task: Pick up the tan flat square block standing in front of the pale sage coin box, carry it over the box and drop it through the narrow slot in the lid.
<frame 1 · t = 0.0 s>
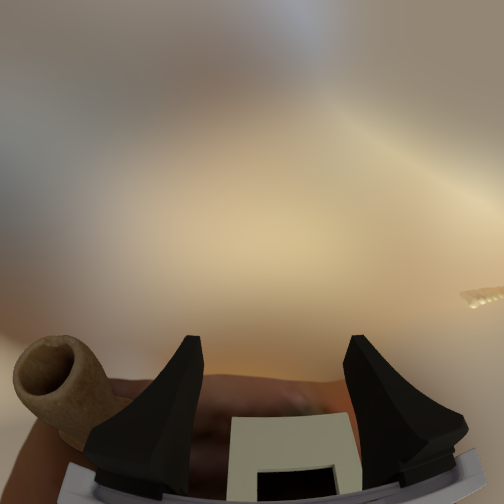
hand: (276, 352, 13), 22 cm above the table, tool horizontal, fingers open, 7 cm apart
coin box: (289, 500, 20), on the table
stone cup: (112, 439, 26), on the table
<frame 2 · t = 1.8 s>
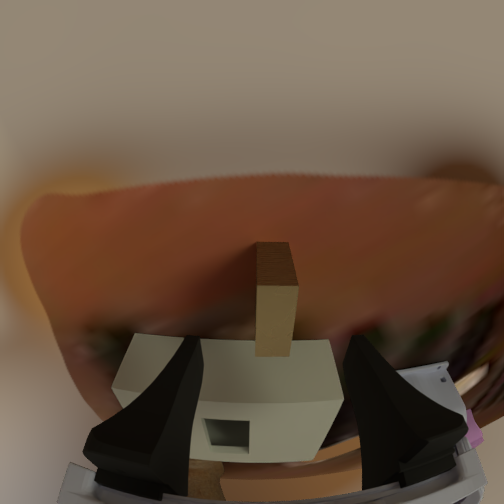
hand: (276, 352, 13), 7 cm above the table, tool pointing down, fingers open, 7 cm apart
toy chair: (447, 424, 33), on the table
coin box: (231, 384, 24), on the table
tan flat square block: (270, 275, 19), on the table
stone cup: (198, 455, 34), on the table
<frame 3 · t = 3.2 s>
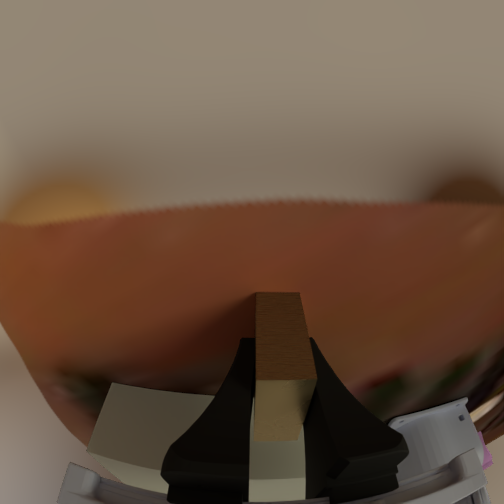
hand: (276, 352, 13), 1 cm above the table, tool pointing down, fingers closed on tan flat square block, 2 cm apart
coin box: (227, 433, 19), on the table
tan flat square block: (274, 332, 14), on the table, touching gripper
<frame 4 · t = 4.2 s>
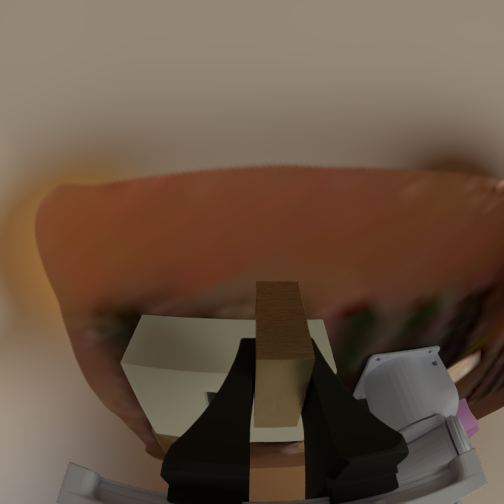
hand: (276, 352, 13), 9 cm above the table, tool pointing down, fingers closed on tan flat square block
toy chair: (443, 413, 36), on the table
coin box: (232, 364, 27), on the table
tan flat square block: (274, 321, 15), point 7 cm above the table, touching gripper
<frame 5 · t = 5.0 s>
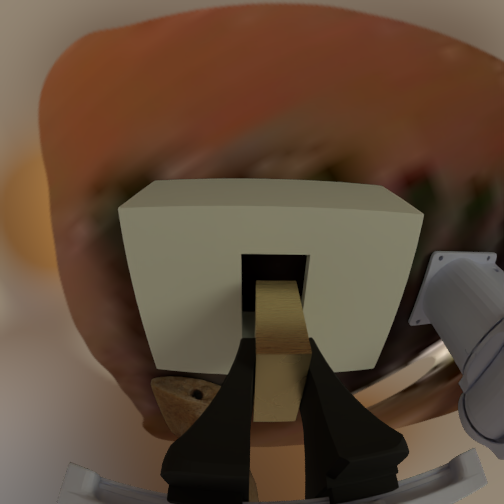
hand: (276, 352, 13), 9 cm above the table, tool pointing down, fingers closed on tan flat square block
coin box: (268, 258, 21), on the table
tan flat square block: (273, 319, 15), point 7 cm above the table, touching gripper
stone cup: (211, 406, 31), on the table
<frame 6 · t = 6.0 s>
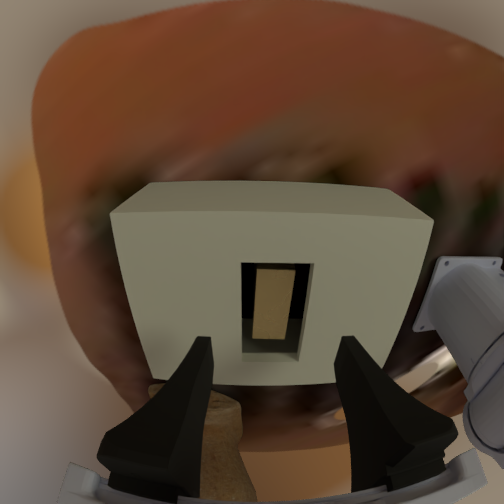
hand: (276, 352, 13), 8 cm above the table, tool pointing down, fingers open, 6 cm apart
coin box: (269, 264, 20), on the table
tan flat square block: (268, 264, 20), resting in coin box
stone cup: (210, 412, 30), on the table
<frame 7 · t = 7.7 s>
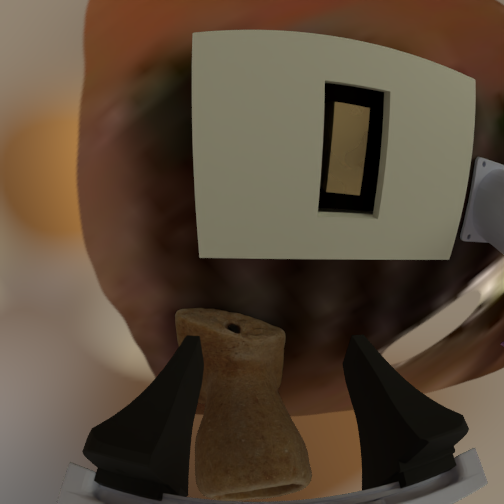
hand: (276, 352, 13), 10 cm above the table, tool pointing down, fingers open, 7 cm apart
coin box: (327, 141, 18), on the table
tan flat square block: (326, 141, 18), resting in coin box
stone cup: (242, 357, 28), on the table
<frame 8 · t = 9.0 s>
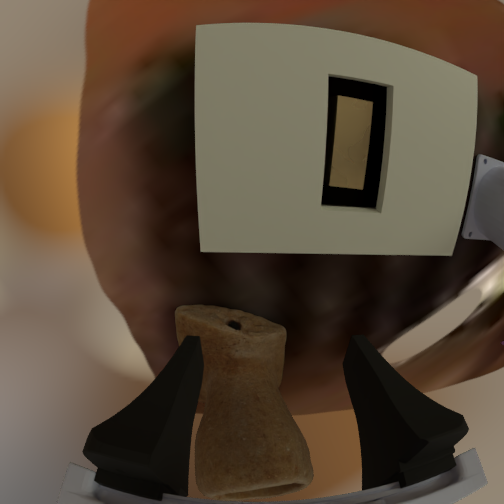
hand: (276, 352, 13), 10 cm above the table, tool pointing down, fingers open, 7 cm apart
coin box: (329, 136, 18), on the table
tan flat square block: (328, 136, 18), resting in coin box
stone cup: (243, 355, 28), on the table
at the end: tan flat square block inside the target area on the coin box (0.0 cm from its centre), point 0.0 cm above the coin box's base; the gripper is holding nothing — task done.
